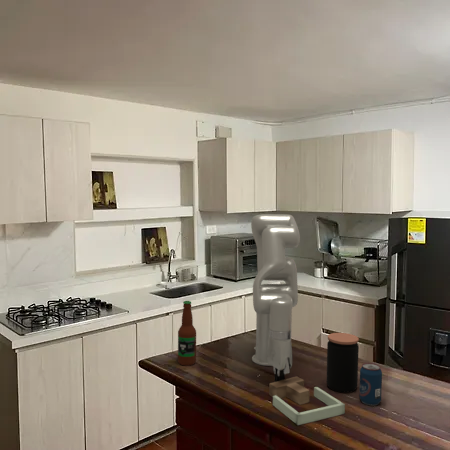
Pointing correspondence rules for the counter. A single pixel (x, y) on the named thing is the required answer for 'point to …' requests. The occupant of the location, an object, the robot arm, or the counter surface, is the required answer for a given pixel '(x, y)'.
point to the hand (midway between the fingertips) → (279, 385)
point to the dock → (316, 414)
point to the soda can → (370, 384)
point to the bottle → (187, 337)
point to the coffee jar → (342, 362)
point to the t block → (290, 390)
